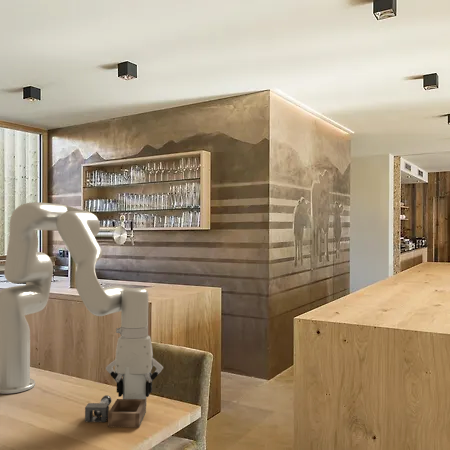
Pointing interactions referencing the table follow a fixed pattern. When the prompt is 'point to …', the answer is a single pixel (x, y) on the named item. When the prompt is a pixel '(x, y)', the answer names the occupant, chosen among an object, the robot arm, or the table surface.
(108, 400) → the lock pin
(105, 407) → the pin mount
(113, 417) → the brown wooden open box
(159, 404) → the table surface
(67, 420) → the table surface
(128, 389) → the skincare box
